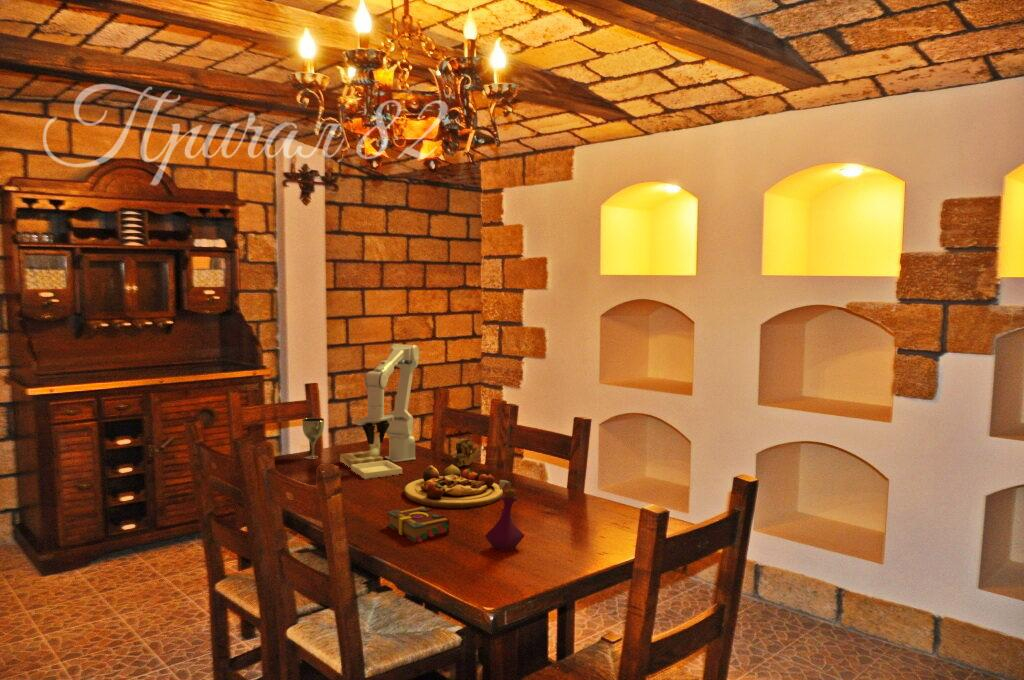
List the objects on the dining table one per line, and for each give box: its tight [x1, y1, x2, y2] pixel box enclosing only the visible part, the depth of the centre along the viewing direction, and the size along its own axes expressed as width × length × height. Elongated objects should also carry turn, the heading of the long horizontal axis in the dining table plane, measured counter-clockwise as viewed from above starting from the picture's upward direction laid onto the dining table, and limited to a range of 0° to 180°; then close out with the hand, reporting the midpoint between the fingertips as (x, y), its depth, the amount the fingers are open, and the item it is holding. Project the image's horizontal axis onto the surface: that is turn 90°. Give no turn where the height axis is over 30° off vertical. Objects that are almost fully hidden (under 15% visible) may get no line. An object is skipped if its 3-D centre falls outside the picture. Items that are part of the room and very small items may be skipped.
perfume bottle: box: [484, 479, 525, 552], centre depth 190 cm, size 8×8×18 cm
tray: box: [350, 459, 403, 480], centre depth 260 cm, size 14×13×2 cm
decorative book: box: [387, 505, 450, 543], centre depth 201 cm, size 11×16×5 cm
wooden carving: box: [452, 438, 478, 468], centre depth 273 cm, size 16×5×10 cm, turn 162°
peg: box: [369, 430, 381, 456], centre depth 260 cm, size 4×4×8 cm
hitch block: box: [339, 450, 384, 469], centre depth 272 cm, size 12×12×3 cm
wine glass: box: [301, 417, 325, 459], centre depth 277 cm, size 8×8×15 cm
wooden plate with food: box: [403, 464, 504, 509], centre depth 237 cm, size 32×32×8 cm
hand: (375, 443), depth 260 cm, fingers closed on peg, 4 cm apart
